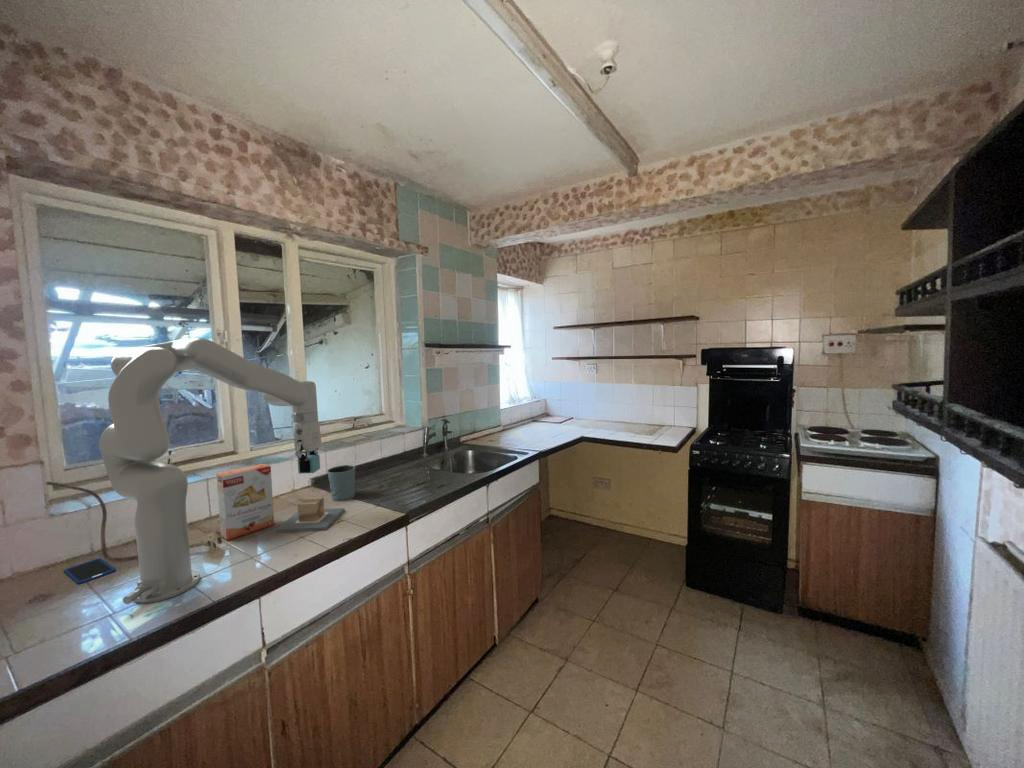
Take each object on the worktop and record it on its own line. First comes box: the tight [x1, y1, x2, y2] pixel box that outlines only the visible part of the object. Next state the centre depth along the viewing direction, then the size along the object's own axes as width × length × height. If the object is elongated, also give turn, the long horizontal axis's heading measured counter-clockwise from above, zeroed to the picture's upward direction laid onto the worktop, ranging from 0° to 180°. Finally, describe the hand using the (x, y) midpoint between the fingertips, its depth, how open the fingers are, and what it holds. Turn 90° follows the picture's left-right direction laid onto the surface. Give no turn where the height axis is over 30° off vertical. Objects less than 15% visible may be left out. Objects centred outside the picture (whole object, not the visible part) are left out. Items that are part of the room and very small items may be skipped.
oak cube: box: [297, 496, 325, 522], centre depth 136 cm, size 6×6×6 cm
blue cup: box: [327, 464, 356, 502], centre depth 158 cm, size 10×10×12 cm
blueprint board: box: [275, 507, 345, 533], centre depth 137 cm, size 16×16×1 cm
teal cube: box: [297, 454, 321, 474], centre depth 135 cm, size 5×5×5 cm
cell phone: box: [63, 557, 117, 585], centre depth 107 cm, size 7×14×1 cm, turn 60°
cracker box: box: [216, 463, 275, 541], centre depth 129 cm, size 14×6×21 cm, turn 144°
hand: (309, 469), depth 135 cm, fingers closed on teal cube, 4 cm apart
